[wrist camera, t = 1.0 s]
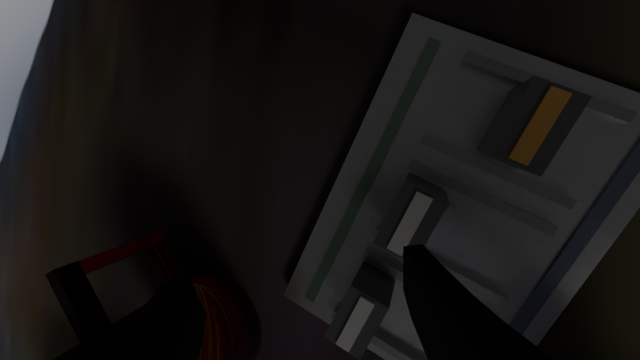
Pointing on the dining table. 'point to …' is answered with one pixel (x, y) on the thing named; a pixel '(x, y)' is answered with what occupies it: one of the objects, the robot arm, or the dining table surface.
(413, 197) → the breaker
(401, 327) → the breaker panel
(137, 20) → the dining table surface
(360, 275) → the breaker
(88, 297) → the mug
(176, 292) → the robot arm
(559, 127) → the breaker
